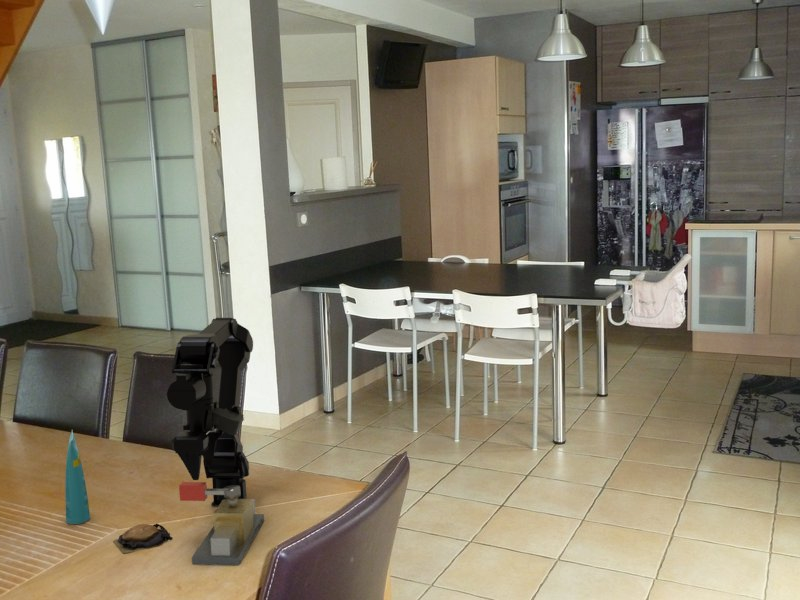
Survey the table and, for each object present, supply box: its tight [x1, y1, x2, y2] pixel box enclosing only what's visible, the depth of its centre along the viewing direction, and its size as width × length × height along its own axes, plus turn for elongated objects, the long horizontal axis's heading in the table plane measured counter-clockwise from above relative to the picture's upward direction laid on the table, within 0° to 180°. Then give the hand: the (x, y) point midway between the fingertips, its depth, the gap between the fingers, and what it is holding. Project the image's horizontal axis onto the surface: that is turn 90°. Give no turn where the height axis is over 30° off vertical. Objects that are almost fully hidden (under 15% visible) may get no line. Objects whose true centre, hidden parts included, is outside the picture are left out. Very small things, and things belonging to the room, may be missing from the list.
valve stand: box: [191, 498, 265, 566], centre depth 165 cm, size 9×20×9 cm, turn 175°
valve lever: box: [178, 481, 241, 502], centre depth 164 cm, size 12×3×3 cm, turn 85°
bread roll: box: [112, 523, 174, 555], centre depth 167 cm, size 11×8×4 cm
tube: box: [64, 429, 91, 525], centre depth 176 cm, size 7×5×19 cm, turn 26°
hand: (202, 472), depth 168 cm, fingers open, 9 cm apart
